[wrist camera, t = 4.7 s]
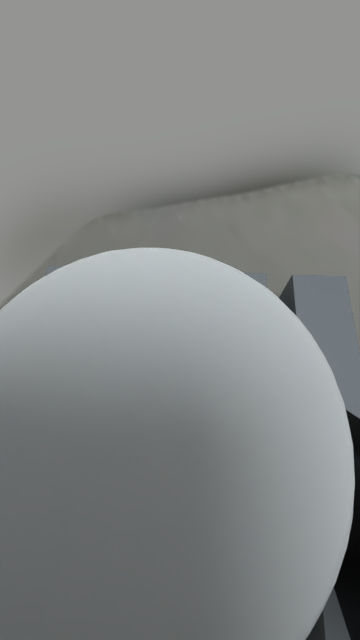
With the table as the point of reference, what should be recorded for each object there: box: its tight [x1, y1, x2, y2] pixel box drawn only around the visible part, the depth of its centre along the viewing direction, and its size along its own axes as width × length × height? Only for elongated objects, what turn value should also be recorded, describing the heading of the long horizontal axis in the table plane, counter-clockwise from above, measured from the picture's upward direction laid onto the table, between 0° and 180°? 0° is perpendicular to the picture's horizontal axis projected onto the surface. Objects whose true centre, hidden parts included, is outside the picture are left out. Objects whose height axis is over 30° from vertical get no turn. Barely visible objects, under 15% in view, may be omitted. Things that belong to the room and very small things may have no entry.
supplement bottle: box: [0, 248, 355, 640], centre depth 9 cm, size 7×7×13 cm
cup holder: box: [45, 266, 360, 640], centre depth 13 cm, size 15×15×4 cm
